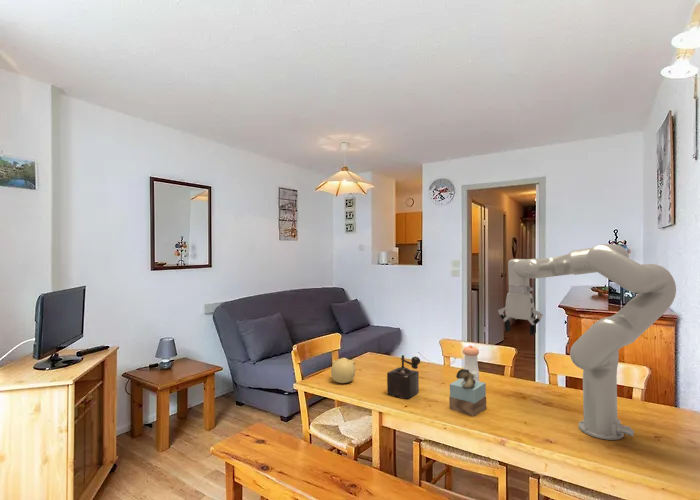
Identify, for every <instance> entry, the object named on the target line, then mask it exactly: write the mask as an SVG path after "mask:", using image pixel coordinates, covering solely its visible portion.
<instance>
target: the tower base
mask: <svg viewBox="0 0 700 500" xmlns="http://www.w3.org/2000/svg"><path fill="white" fill-rule="evenodd" d="M448 400H449V409H450V410H452V411H455V412H458V413H461V414H464V415H467V416H470V417H476V416H477V415H479V414H480V413H482V412H484V411H485V410H487V396H485V397H483V398H482V399H481V400H479V401H478V402H476V403H475V404H474V403H471V402H467V401H463V400H459V399H456V398H452V397H450V396H449V399H448Z"/></svg>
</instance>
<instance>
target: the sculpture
mask: <svg viewBox="0 0 700 500" xmlns="http://www.w3.org/2000/svg"><path fill="white" fill-rule="evenodd" d="M331 363H332V366H331V369H330V376H331V378H332V380H333V382H335V383H338V384H339V383H340V384H345V383H346V384H347V383H350V382H351V381H353V380H354V378H355V375H356V366H355V363H356V361H355V360H351V359H348V358H346V357H341V358H339V359H334V360H332V361H331Z"/></svg>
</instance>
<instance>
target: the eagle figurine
mask: <svg viewBox="0 0 700 500" xmlns="http://www.w3.org/2000/svg"><path fill="white" fill-rule="evenodd" d="M477 375H478V374H477V372H476V371H474V370H472V371H471V373H469V370H466V369H464V368H460V369H459V370H458V371H457V373H456V375H455V377H456V380H458V379H463V378H464V379H463V381H462V382H461V384H463V383H464V382H465V384H464V385H463V386H462V388H464V389H472V388H473V387H474V385H475V383H476V382H475V380H474V379H473V378H477Z"/></svg>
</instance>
